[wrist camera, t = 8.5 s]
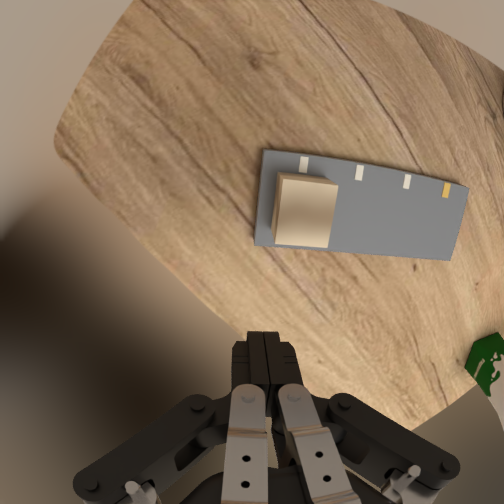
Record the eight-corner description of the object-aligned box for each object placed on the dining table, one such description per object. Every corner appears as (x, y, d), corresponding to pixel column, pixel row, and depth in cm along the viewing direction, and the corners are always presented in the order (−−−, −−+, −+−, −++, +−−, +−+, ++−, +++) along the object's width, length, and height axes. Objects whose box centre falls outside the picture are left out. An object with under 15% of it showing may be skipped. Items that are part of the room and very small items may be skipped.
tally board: (262, 148, 31) (264, 150, 29) (460, 184, 33) (469, 188, 31) (253, 238, 35) (254, 245, 33) (442, 254, 37) (450, 261, 35)
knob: (277, 171, 30) (283, 178, 26) (326, 177, 30) (338, 185, 26) (270, 229, 32) (275, 243, 28) (317, 233, 32) (327, 248, 29)
